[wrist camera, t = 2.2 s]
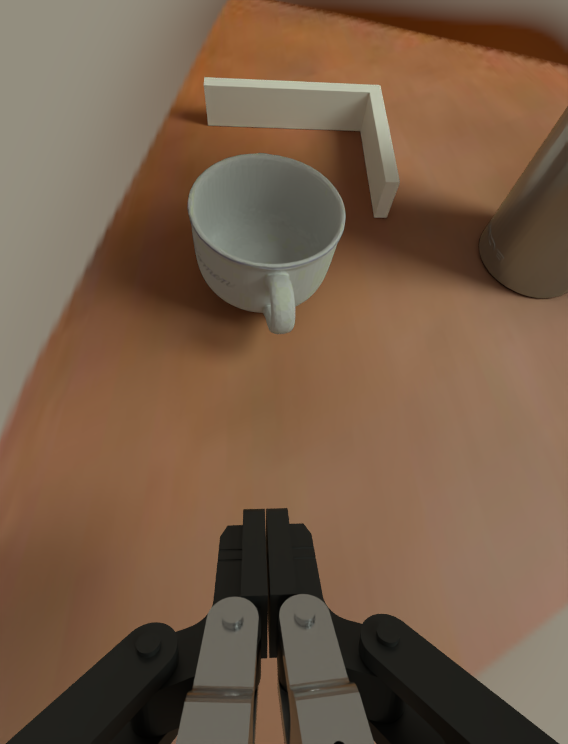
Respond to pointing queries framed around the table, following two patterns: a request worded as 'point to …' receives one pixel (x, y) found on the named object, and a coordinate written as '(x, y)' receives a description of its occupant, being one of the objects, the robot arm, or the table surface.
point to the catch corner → (313, 119)
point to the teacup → (265, 233)
